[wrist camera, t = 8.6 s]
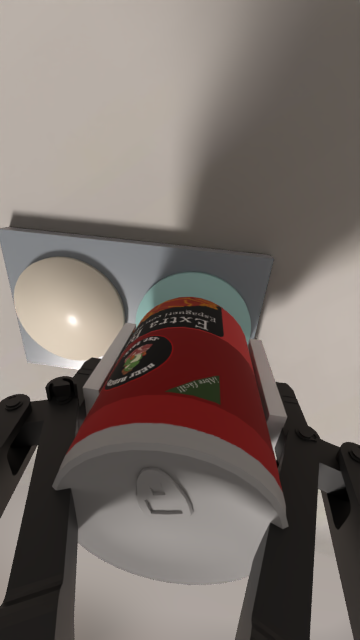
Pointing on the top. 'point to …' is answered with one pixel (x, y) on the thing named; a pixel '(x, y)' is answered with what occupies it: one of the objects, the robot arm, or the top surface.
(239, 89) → the top surface
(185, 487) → the canned food
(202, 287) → the pad
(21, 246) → the board
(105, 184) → the top surface
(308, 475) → the robot arm
